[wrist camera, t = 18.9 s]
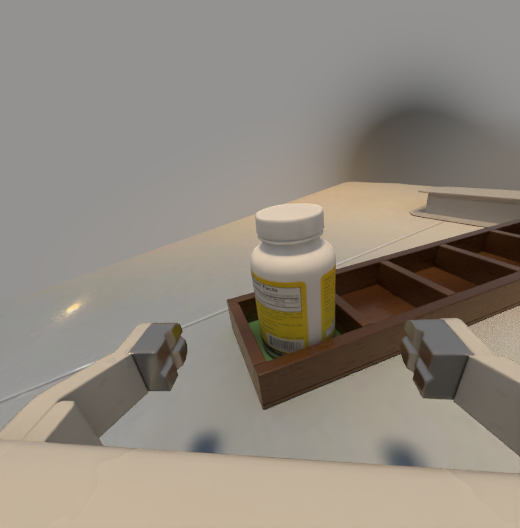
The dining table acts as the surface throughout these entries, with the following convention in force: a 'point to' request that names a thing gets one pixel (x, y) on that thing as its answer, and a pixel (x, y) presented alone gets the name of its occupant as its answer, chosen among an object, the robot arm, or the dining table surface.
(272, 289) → the supplement bottle
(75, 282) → the dining table surface
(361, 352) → the rack
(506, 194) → the grey hinged lid tray
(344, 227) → the dining table surface
